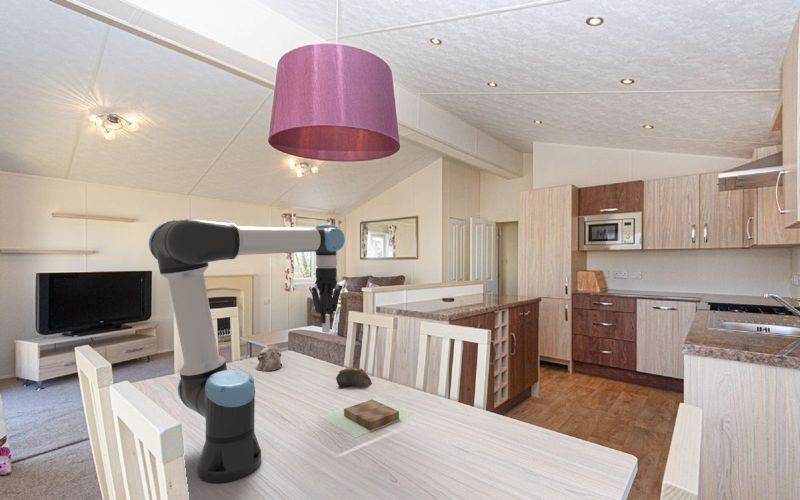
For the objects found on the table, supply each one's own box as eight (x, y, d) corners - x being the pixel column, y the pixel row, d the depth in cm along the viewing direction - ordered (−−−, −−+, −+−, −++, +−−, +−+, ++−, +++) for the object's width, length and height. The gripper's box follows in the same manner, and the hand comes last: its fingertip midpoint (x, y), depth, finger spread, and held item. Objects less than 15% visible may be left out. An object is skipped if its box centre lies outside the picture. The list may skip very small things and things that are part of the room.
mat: (355, 440, 114) (355, 437, 114) (319, 418, 129) (319, 416, 129) (412, 416, 130) (412, 414, 130) (375, 399, 145) (375, 397, 145)
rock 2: (368, 394, 154) (375, 385, 164) (369, 372, 154) (376, 365, 163) (334, 388, 157) (342, 380, 167) (335, 367, 157) (344, 360, 167)
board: (344, 416, 129) (370, 430, 118) (344, 408, 129) (370, 422, 118) (372, 406, 137) (398, 419, 127) (372, 399, 137) (398, 411, 127)
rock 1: (285, 369, 182) (285, 348, 182) (259, 374, 175) (259, 351, 175) (276, 361, 194) (276, 341, 194) (251, 365, 188) (251, 345, 188)
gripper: (335, 266, 148) (335, 327, 148) (305, 267, 139) (304, 332, 139) (346, 267, 142) (346, 330, 142) (315, 268, 134) (315, 336, 134)
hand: (326, 331), depth 141 cm, fingers closed
